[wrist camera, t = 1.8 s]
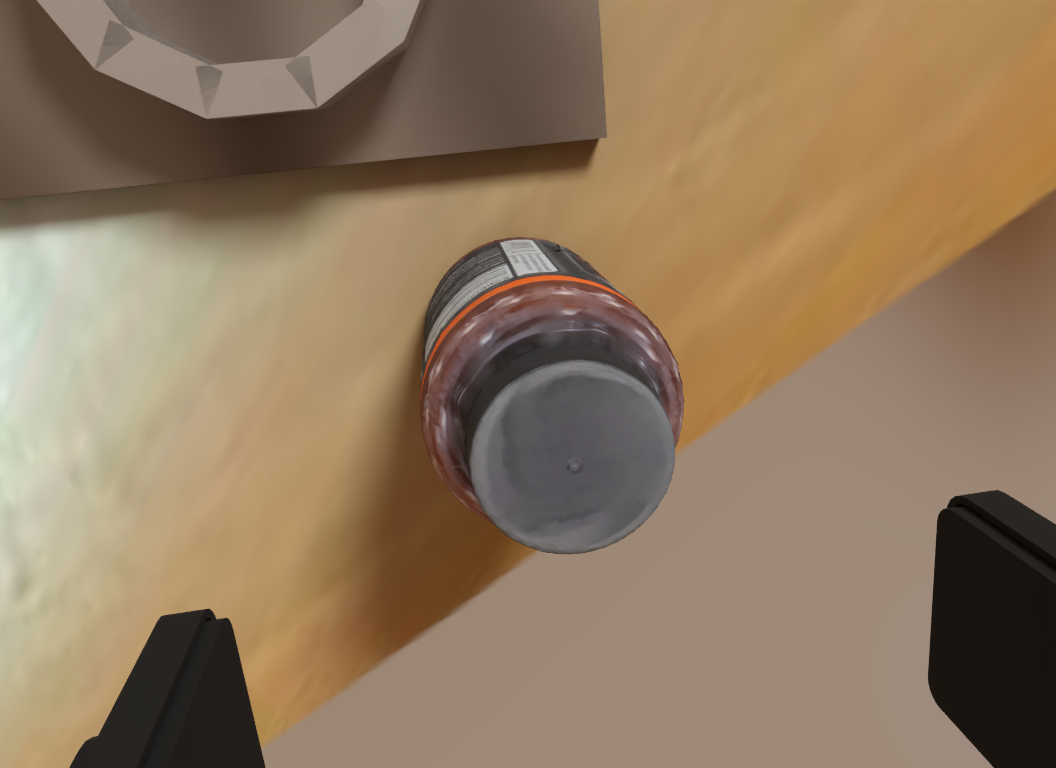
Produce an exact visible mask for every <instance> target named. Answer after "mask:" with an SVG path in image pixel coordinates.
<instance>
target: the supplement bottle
mask: <svg viewBox="0 0 1056 768" xmlns="http://www.w3.org/2000/svg"><path fill="white" fill-rule="evenodd" d="M683 411H684V397H683V388H682V380H681V377H680V373H679V369H678V363H677V361H676V359H675V357H674V355H673V353H672V351H671V349H670V347H669V346H668V343H667V341H666V340H665V339H664V337H663V336H662V334H661V333H660V331H659V329H658V328H657V327H656V326H655V325H654V324H653V323H652V322H651V321H650V319H649V318H648V317H647V316H646V315H645V314H644V313H643V312H642V311H640V310H639V309H638V308H637V306H636V305H635V304H634V303H633V302H632V301H631V300H629V299H628V298H627V297H626V296H625V295H623V294H622V293H621V292H620V291H619V290H617V289H616V288H615V287H614V286H613V285H612V284H610V283H609V282H608V281H607V280H606V279H605V278H604V277H603V276H602V275H601V274H599V273H598V272H597V271H596V270H595V269H594V268H593V267H592V266H591V265H590V264H589V263H588V262H586V261H584V260H583V259H582V258H581V257H580V256H578V255H577V254H575V253H574V252H572V251H571V250H569V249H567V248H565V247H562V246H559V245H558V244H555V243H553V242H550V241H547V240H542V239H537V238H523V237H516V238H507V239H501V240H495V241H493V242H489V243H487V244H484V245H481V246H479V247H478V248H476V249H474V250H472V251H471V252H469V253H468V254H466V255H465V256H463V257H462V258H461V259H460V260H458V261H457V262H456V263H455V264H454V265H453V266H452V267H451V268H450V269H449V270H448V271H447V273H446V274H445V275H444V277H443V278H442V279H441V281H440V283H439V285H438V286H437V288H436V289H435V292H434V294H433V296H432V298H431V300H430V303H429V306H428V311H427V314H426V320H425V325H424V340H423V356H422V375H421V399H420V417H421V428H422V433H423V438H424V442H425V445H426V449H427V452H428V455H429V457H430V459H431V462H432V464H433V466H434V468H435V470H436V472H437V474H438V475H439V477H440V478H441V480H442V481H443V483H444V484H445V485H446V487H447V488H448V490H449V491H450V492H451V493H452V494H453V495H454V496H455V497H456V498H457V499H458V500H459V501H460V502H461V503H462V504H463V505H464V506H465V507H466V508H468V509H469V510H471V511H472V512H474V513H475V514H477V515H478V516H480V517H482V518H483V519H485V520H487V521H489V522H491V523H493V524H494V525H495V526H496V527H497V528H498V529H500V530H501V531H502V532H503V533H504V534H505V535H507V536H508V537H509V538H511V539H513V540H514V541H516V542H518V543H521V544H523V545H525V546H527V547H530V548H533V549H536V550H539V551H542V552H547V553H554V554H579V553H586V552H590V551H594V550H597V549H601V548H605V547H607V546H609V545H611V544H613V543H616V542H618V541H619V540H621V539H623V538H625V537H626V536H627V535H629V534H631V533H632V532H634V531H635V530H636V529H637V528H638V527H640V526H641V525H642V524H643V523H644V522H645V521H646V520H647V519H648V518H649V517H650V515H652V513H653V512H654V511H655V510H656V508H657V507H658V505H659V503H660V502H661V500H662V499H663V497H664V495H665V494H666V492H667V490H668V487H669V484H670V481H671V478H672V473H673V469H674V462H675V447H676V445H677V442H678V439H679V436H680V431H681V427H682V419H683Z"/></svg>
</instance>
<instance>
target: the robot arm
mask: <svg viewBox="0 0 1056 768" xmlns="http://www.w3.org/2000/svg"><path fill="white" fill-rule="evenodd" d="M928 682H929V687H930V690H931V693H932V696H933V698H934V700H935V702H936V703H937V705H938V706H939V707H940V709H941V710H942V711H943V712H944V713H945V714H946V715H947V716H948V717H949V719H950V720H951V721H952V722H953V723H954V724H955V725H956V726H957V727H958V728H959V730H960V731H961V732H962V733H963V734H964V735H965V736H966V737H967V738H968V739H969V741H971V743H972V744H973V745H974V746H975V747H976V748H977V749H978V751H979V752H980V753H981V754H982V755H983V756H984V757H985V758H986V759H987V760H988V761H989V763H990V764H991V765H992V766H993V767H994V768H1056V524H1054V523H1052V522H1051V521H1049V520H1048V519H1046V518H1044V517H1043V516H1041V515H1040V514H1038V513H1036V512H1035V511H1033V510H1031V509H1030V508H1028V507H1027V506H1025V505H1023V504H1022V503H1020V502H1019V501H1017V500H1015V499H1014V498H1012V497H1010V496H1009V495H1007V494H1006V493H1003V492H1001V491H998V490H996V491H987V492H981V493H974V494H968V495H961V496H955V497H954V498H952V499H951V500H950V502H949V504H948V506H947V509H943V510H942V511H941V512H940V514H939V516H938V520H937V534H936V551H935V568H934V585H933V602H932V618H931V635H930V653H929V669H928ZM70 768H265V764H264V760H263V755H262V751H261V747H260V743H259V738H258V734H257V730H256V725H255V721H254V717H253V713H252V708H251V704H250V700H249V695H248V691H247V687H246V683H245V678H244V674H243V670H242V666H241V661H240V657H239V653H238V648H237V644H236V640H235V636H234V631H233V628H232V624H231V622H230V620H229V619H228V618H223V619H216V617H215V615H214V613H213V612H212V611H211V610H210V609H204V610H197V611H191V612H184V613H177V614H171V615H164V616H161V617H160V619H159V620H158V621H157V623H156V625H155V627H154V629H153V631H152V633H151V635H150V637H149V639H148V641H147V643H146V644H145V646H144V648H143V650H142V652H141V654H140V656H139V658H138V660H137V662H136V664H135V666H134V668H133V670H132V672H131V673H130V675H129V677H128V679H127V681H126V683H125V685H124V687H123V689H122V691H121V693H120V695H119V697H118V699H117V700H116V702H115V704H114V706H113V708H112V710H111V712H110V714H109V716H108V718H107V720H106V722H105V724H104V726H103V728H102V729H101V731H100V733H99V735H98V736H96V737H92V738H90V739H89V740H87V741H85V743H84V744H83V745H82V747H81V748H80V750H79V751H78V753H77V755H76V756H75V758H74V760H73V762H72V764H71V766H70Z"/></svg>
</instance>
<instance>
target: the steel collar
mask: <svg viewBox="0 0 1056 768" xmlns="http://www.w3.org/2000/svg"><path fill="white" fill-rule="evenodd" d="M37 1H38V3H39V4H40V5H41V6H42V7H43V8H44V10H45V11H46V12H47V13H48V14H49V16H50V17H51V18H52V19H53V20H54V22H55V23H56V24H57V25H58V26H59V27H60V29H61V30H62V31H63V32H64V33H65V35H66V36H67V37H68V38H69V39H70V41H71V42H72V43H73V44H74V45H75V47H76V48H77V49H78V50H79V51H80V52H81V54H82V55H83V56H84V57H85V58H86V60H87V61H88V62H89V63H90V64H91V66H92V67H93V68H94V69H95V70H97V71H99V72H102V73H104V74H106V75H108V76H111V77H113V78H115V79H118V80H120V81H122V82H124V83H127V84H129V85H131V86H133V87H136V88H138V89H140V90H142V91H145V92H147V93H149V94H151V95H154V96H156V97H158V98H161V99H163V100H165V101H167V102H170V103H172V104H174V105H176V106H179V107H181V108H183V109H185V110H188V111H190V112H192V113H194V114H197V115H199V116H201V117H204V118H206V119H231V118H242V117H252V116H262V115H273V114H283V113H293V112H303V111H314V110H324V109H330V108H331V107H332V106H334V105H335V104H336V103H338V102H339V101H340V100H341V99H343V98H344V97H345V96H347V95H348V94H349V93H351V92H352V91H353V90H354V89H356V88H357V87H358V86H360V85H361V84H362V83H363V82H365V81H366V80H367V79H369V78H370V77H371V76H373V75H374V74H375V73H376V72H378V71H379V70H380V69H382V68H383V67H384V66H386V65H387V64H388V63H389V62H391V61H392V60H393V59H395V58H396V57H397V56H398V55H400V54H401V53H402V52H404V51H405V50H406V49H407V48H408V45H409V42H410V40H411V37H412V35H413V32H414V30H415V27H416V25H417V22H418V19H419V17H420V14H421V12H422V9H423V7H424V4H425V2H426V0H364V1H363V4H362V6H360V7H359V8H358V9H356V10H355V11H354V12H353V13H351V14H350V15H349V16H348V17H346V18H345V19H344V20H342V21H341V22H340V23H339V24H337V25H336V26H335V27H333V28H332V29H331V30H330V31H328V32H327V33H326V34H325V35H323V36H322V37H321V38H319V39H318V40H317V41H316V42H314V43H313V44H312V45H310V46H309V47H308V48H307V49H305V50H304V51H303V52H302V53H300V54H299V55H298V56H296V57H293V58H282V59H272V60H261V61H250V62H239V63H228V64H217V63H215V62H213V61H211V60H208V59H206V58H204V57H202V56H200V55H198V54H195V53H193V52H191V51H189V50H187V49H184V48H182V47H180V46H178V45H176V44H174V43H171V42H169V41H167V40H165V39H163V38H160V37H158V36H157V35H156V34H155V33H154V32H153V30H152V29H151V28H150V27H149V25H148V24H147V23H146V22H145V20H144V19H143V18H142V17H141V15H140V14H139V13H138V12H137V10H136V9H135V8H134V7H133V6H132V4H131V3H130V2H129V1H128V0H37Z"/></svg>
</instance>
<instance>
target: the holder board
mask: <svg viewBox="0 0 1056 768" xmlns="http://www.w3.org/2000/svg"><path fill="white" fill-rule="evenodd" d="M128 1H129V2H130V3H131V4H132V6H133V7H134V8H135V9H136V10H137V12H138V13H139V14H140V15H141V17H142V18H143V19H144V20H145V22H146V23H147V24H148V25H149V27H150V28H151V29H152V30H153V32H154V33H155V34H156V35H157V36H158V37H160V38H163V39H165V40H167V41H169V42H171V43H174V44H176V45H178V46H180V47H182V48H184V49H187V50H189V51H191V52H193V53H195V54H198V55H200V56H202V57H204V58H206V59H208V60H211V61H213V62H215V63H217V64H228V63H239V62H250V61H261V60H272V59H282V58H293V57H296V56H298V55H299V54H300V53H302V52H303V51H304V50H305V49H307V48H308V47H309V46H310V45H312V44H313V43H314V42H316V41H317V40H318V39H319V38H321V37H322V36H323V35H325V34H326V33H327V32H328V31H330V30H331V29H332V28H333V27H335V26H336V25H337V24H339V23H340V22H341V21H342V20H344V19H345V18H346V17H348V16H349V15H350V14H351V13H353V12H354V11H355V10H356V9H358V8H359V7H360V6H362V4H363V1H364V0H128ZM598 138H607V131H606V115H605V99H604V83H603V67H602V51H601V34H600V18H599V2H598V0H426V2H425V4H424V7H423V9H422V12H421V14H420V17H419V19H418V22H417V25H416V27H415V30H414V32H413V35H412V37H411V40H410V42H409V45H408V48H407V49H406V50H405V51H404V52H402V53H401V54H400V55H398V56H397V57H396V58H395V59H393V60H392V61H391V62H389V63H388V64H387V65H386V66H384V67H383V68H382V69H380V70H379V71H378V72H376V73H375V74H374V75H373V76H371V77H370V78H369V79H367V80H366V81H365V82H363V83H362V84H361V85H360V86H358V87H357V88H356V89H354V90H353V91H352V92H351V93H349V94H348V95H347V96H345V97H344V98H343V99H341V100H340V101H339V102H338V103H336V104H335V105H334V106H332V107H331V108H330V109H324V110H314V111H303V112H293V113H283V114H273V115H262V116H252V117H242V118H231V119H206V118H204V117H201V116H199V115H197V114H194V113H192V112H190V111H188V110H185V109H183V108H181V107H179V106H176V105H174V104H172V103H170V102H167V101H165V100H163V99H161V98H158V97H156V96H154V95H151V94H149V93H147V92H145V91H142V90H140V89H138V88H136V87H133V86H131V85H129V84H127V83H124V82H122V81H120V80H118V79H115V78H113V77H111V76H108V75H106V74H104V73H102V72H99V71H97V70H95V69H94V68H93V67H92V66H91V64H90V63H89V62H88V61H87V60H86V58H85V57H84V56H83V55H82V54H81V52H80V51H79V50H78V49H77V48H76V47H75V45H74V44H73V43H72V42H71V41H70V39H69V38H68V37H67V36H66V35H65V33H64V32H63V31H62V30H61V29H60V27H59V26H58V25H57V24H56V23H55V22H54V20H53V19H52V18H51V17H50V16H49V14H48V13H47V12H46V11H45V10H44V8H43V7H42V6H41V5H40V4H39V3H38V1H37V0H0V200H2V199H11V198H21V197H31V196H41V195H51V194H60V193H70V192H80V191H90V190H99V189H109V188H119V187H129V186H139V185H148V184H158V183H168V182H178V181H188V180H197V179H207V178H217V177H227V176H236V175H246V174H256V173H266V172H276V171H285V170H295V169H305V168H315V167H324V166H334V165H344V164H354V163H364V162H373V161H383V160H393V159H403V158H412V157H422V156H432V155H442V154H452V153H461V152H471V151H481V150H491V149H501V148H510V147H520V146H530V145H540V144H549V143H559V142H569V141H579V140H589V139H598Z"/></svg>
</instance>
